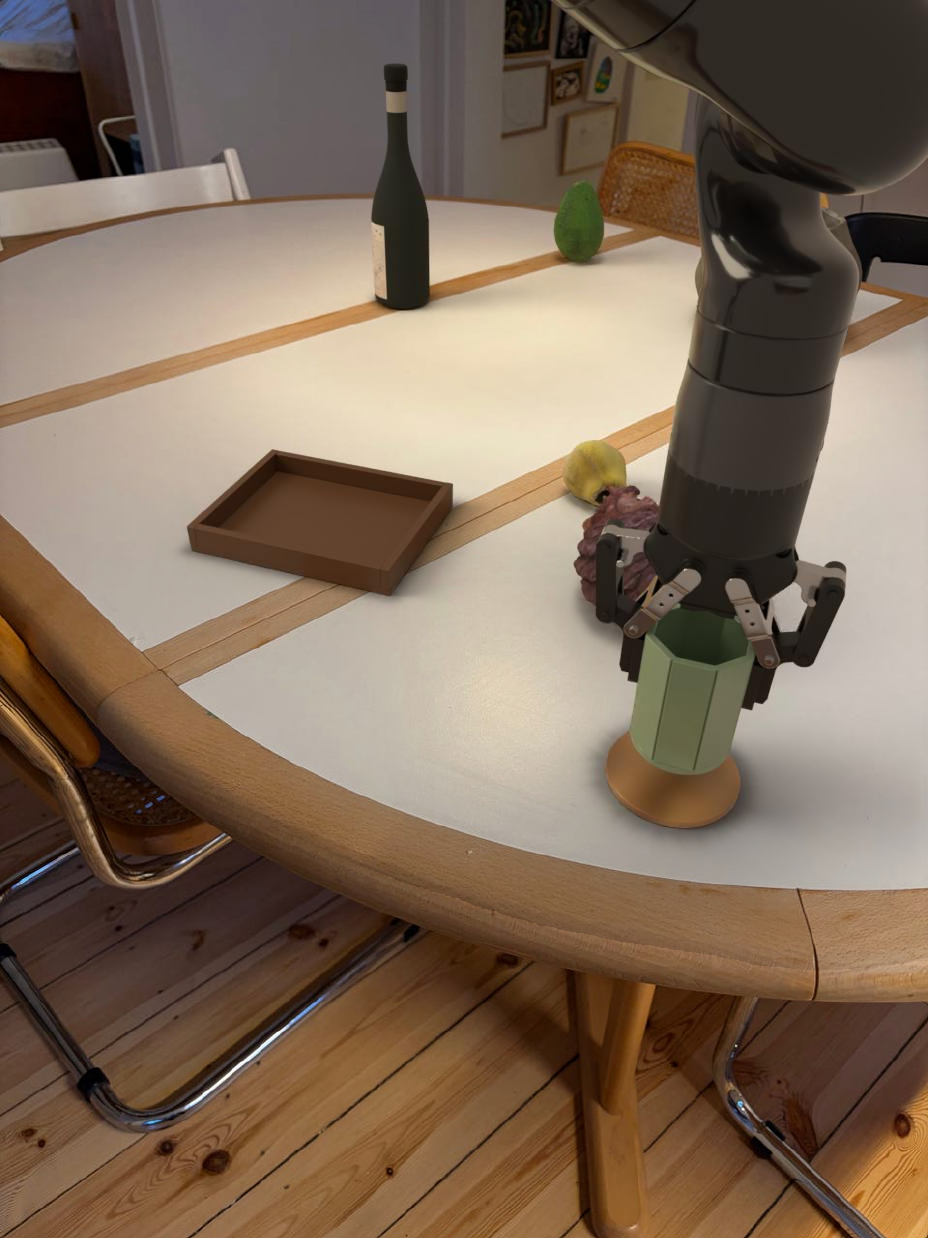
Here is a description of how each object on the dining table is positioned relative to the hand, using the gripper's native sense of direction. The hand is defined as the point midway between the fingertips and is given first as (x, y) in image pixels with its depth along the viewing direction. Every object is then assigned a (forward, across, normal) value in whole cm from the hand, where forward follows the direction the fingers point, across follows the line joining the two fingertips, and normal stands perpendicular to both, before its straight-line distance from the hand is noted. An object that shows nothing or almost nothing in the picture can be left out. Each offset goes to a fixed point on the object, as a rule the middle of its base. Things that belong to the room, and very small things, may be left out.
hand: (691, 686), depth 59 cm
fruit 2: (+8, -13, +34) cm, 37 cm away
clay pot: (+8, -2, +88) cm, 88 cm away
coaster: (+8, 0, 0) cm, 8 cm away
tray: (+8, -36, +20) cm, 42 cm away
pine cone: (+8, -6, +17) cm, 20 cm away
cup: (+5, 0, 0) cm, 5 cm away
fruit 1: (+8, -34, +107) cm, 113 cm away
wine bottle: (+8, -53, +79) cm, 96 cm away
